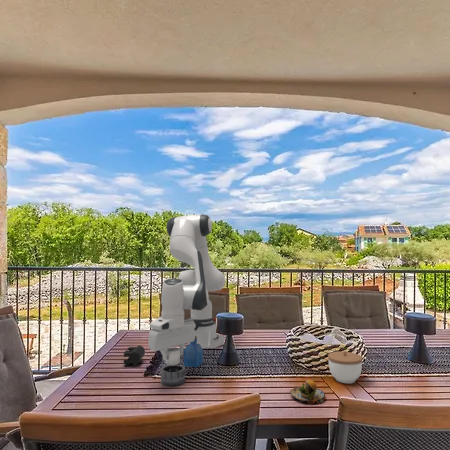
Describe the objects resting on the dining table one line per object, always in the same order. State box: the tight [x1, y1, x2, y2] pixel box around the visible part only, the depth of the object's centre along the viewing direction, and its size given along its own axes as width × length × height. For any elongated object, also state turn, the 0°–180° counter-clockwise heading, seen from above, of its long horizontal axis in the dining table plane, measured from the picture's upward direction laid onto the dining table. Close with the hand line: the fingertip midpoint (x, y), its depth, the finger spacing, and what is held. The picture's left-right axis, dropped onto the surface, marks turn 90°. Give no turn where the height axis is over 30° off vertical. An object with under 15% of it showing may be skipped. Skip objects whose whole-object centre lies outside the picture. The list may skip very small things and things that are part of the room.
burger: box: [289, 376, 326, 406], centre depth 128 cm, size 12×12×8 cm
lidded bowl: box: [327, 350, 363, 384], centre depth 144 cm, size 13×13×11 cm
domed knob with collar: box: [160, 364, 186, 388], centre depth 142 cm, size 9×9×5 cm
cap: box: [165, 346, 181, 366], centre depth 143 cm, size 5×5×5 cm
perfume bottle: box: [183, 336, 204, 368], centre depth 163 cm, size 6×6×12 cm
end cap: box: [123, 345, 146, 368], centre depth 165 cm, size 10×7×7 cm
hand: (172, 357), depth 143 cm, fingers closed on cap, 5 cm apart
